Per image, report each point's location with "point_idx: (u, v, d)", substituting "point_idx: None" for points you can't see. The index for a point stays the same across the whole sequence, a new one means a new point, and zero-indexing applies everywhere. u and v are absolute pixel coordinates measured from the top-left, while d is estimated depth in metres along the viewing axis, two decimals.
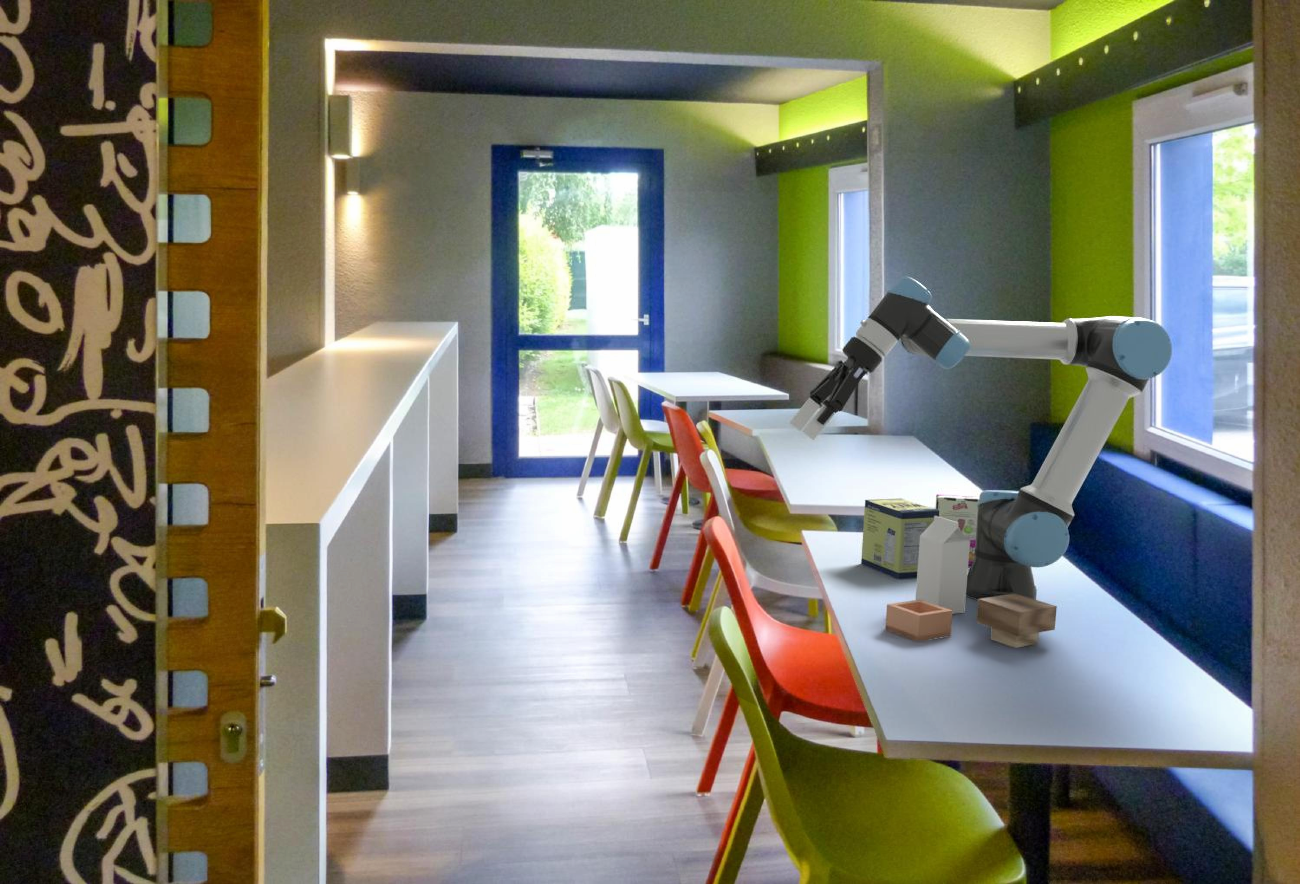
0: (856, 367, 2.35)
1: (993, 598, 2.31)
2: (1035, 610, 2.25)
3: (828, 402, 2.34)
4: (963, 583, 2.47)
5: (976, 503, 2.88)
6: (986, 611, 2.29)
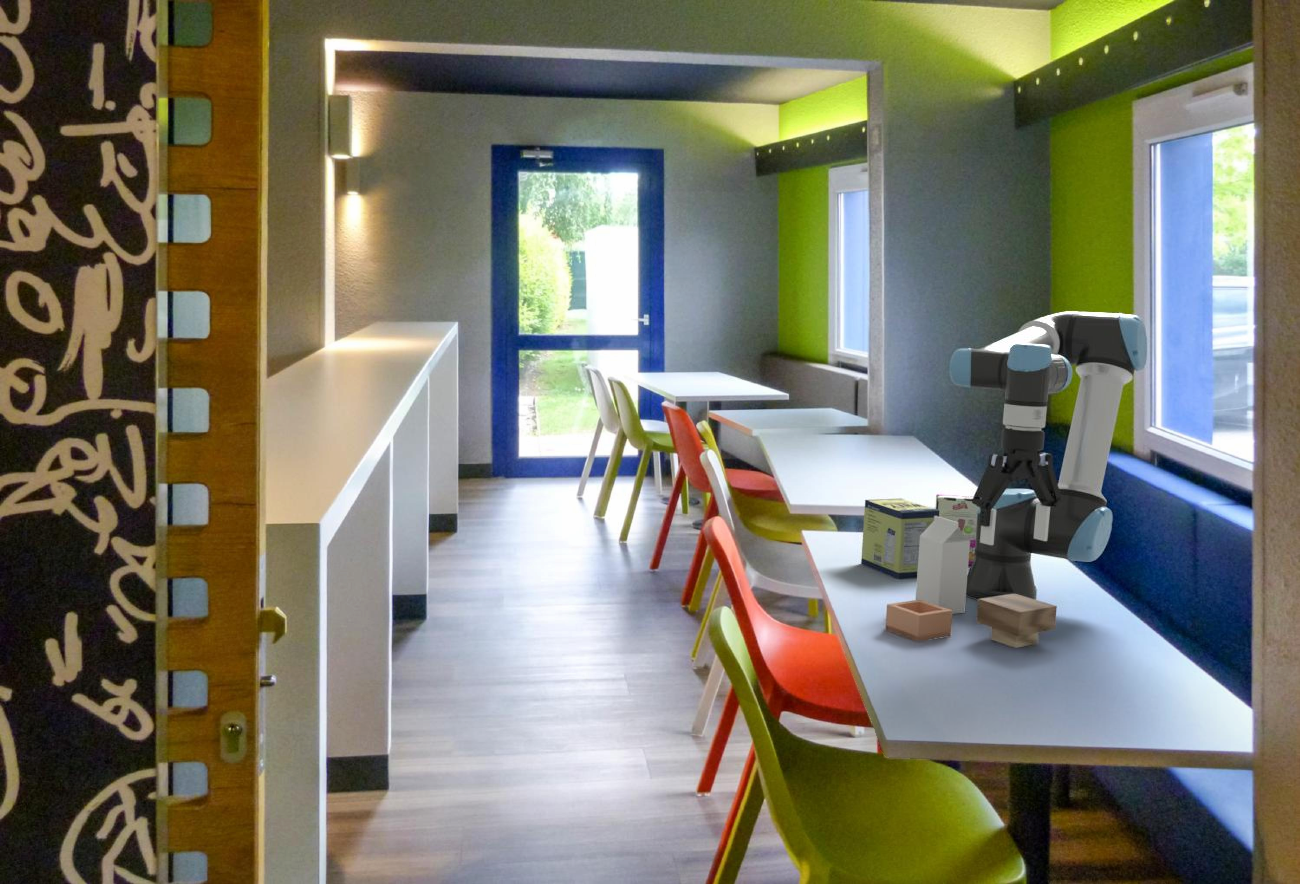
0: None
1: (993, 598, 2.31)
2: (1035, 610, 2.25)
3: None
4: (963, 583, 2.47)
5: None
6: (986, 611, 2.29)
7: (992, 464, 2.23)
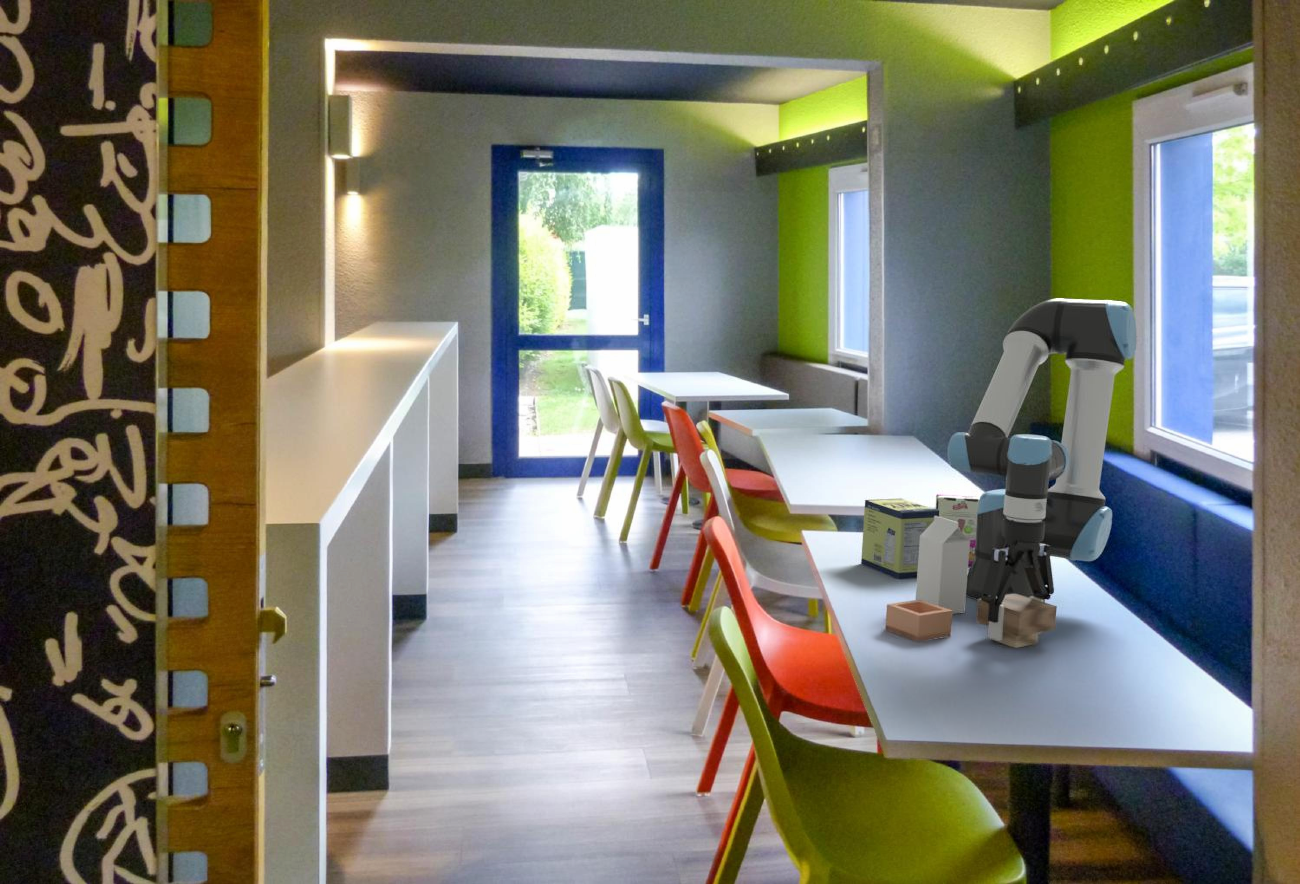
0: None
1: None
2: (1035, 610, 2.25)
3: None
4: (963, 583, 2.47)
5: (976, 503, 2.88)
6: (986, 611, 2.29)
7: (995, 559, 2.25)
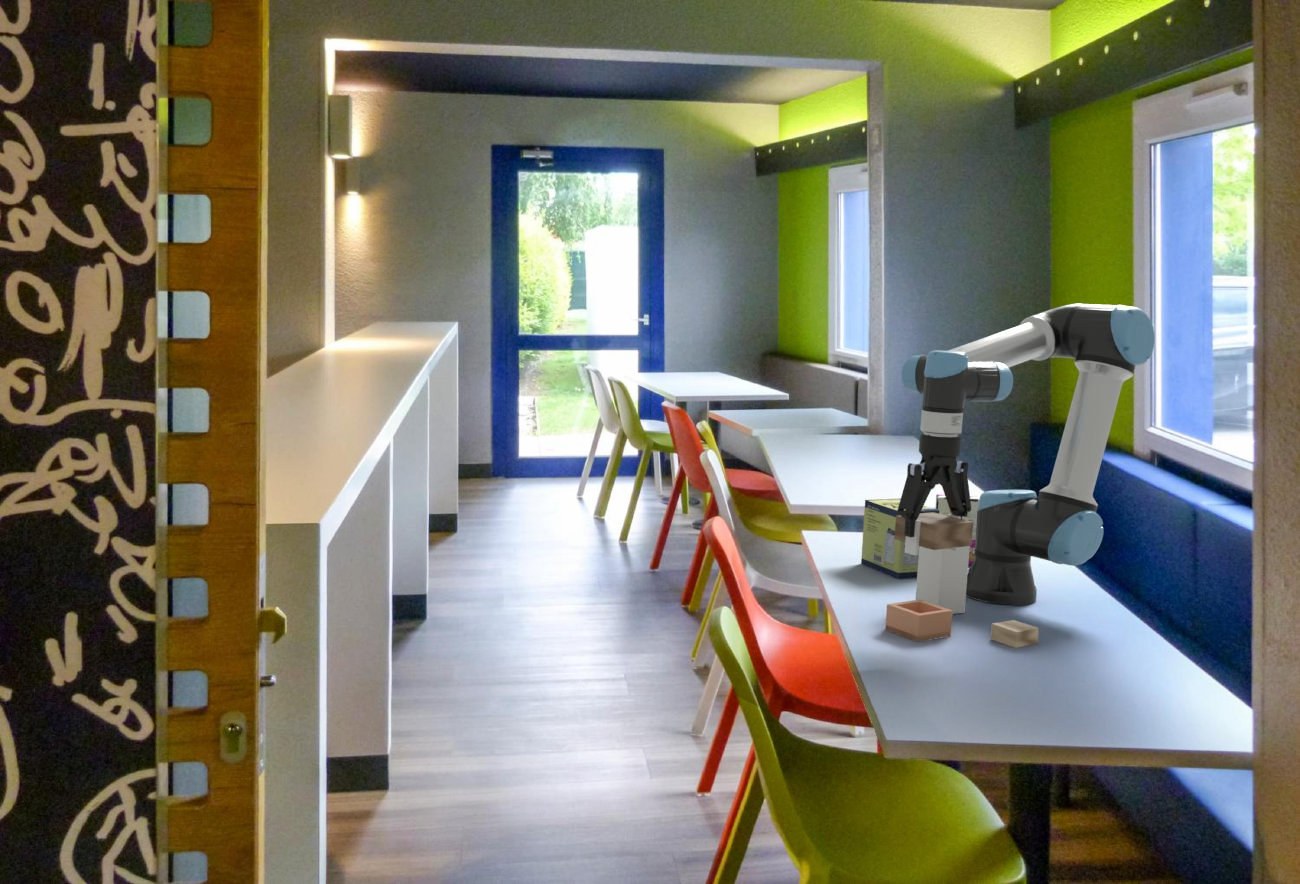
0: None
1: None
2: (951, 525, 2.25)
3: None
4: (963, 583, 2.47)
5: (976, 503, 2.88)
6: (903, 527, 2.29)
7: (911, 474, 2.25)
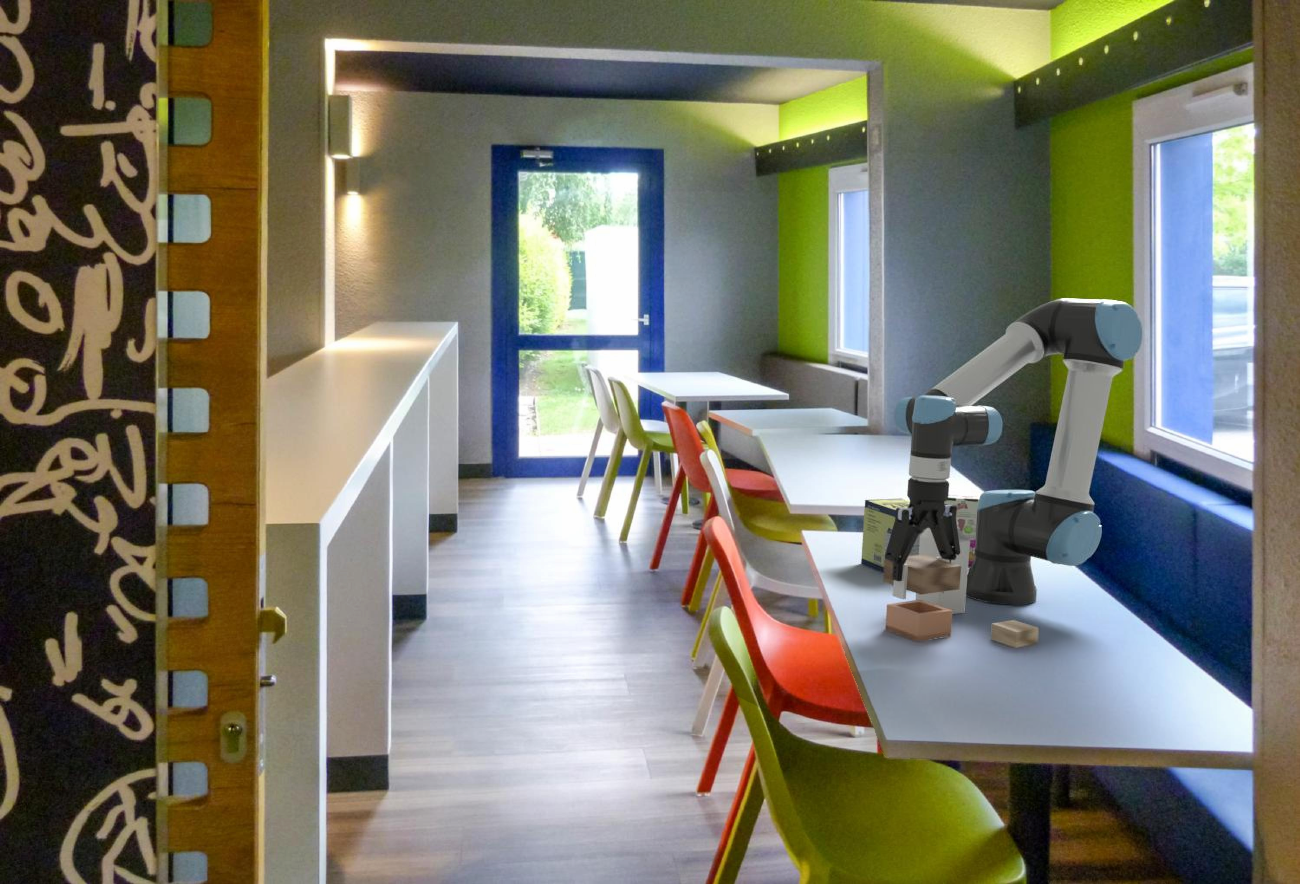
0: None
1: None
2: (938, 569, 2.27)
3: None
4: (963, 583, 2.47)
5: (976, 503, 2.88)
6: (892, 571, 2.31)
7: (899, 519, 2.27)
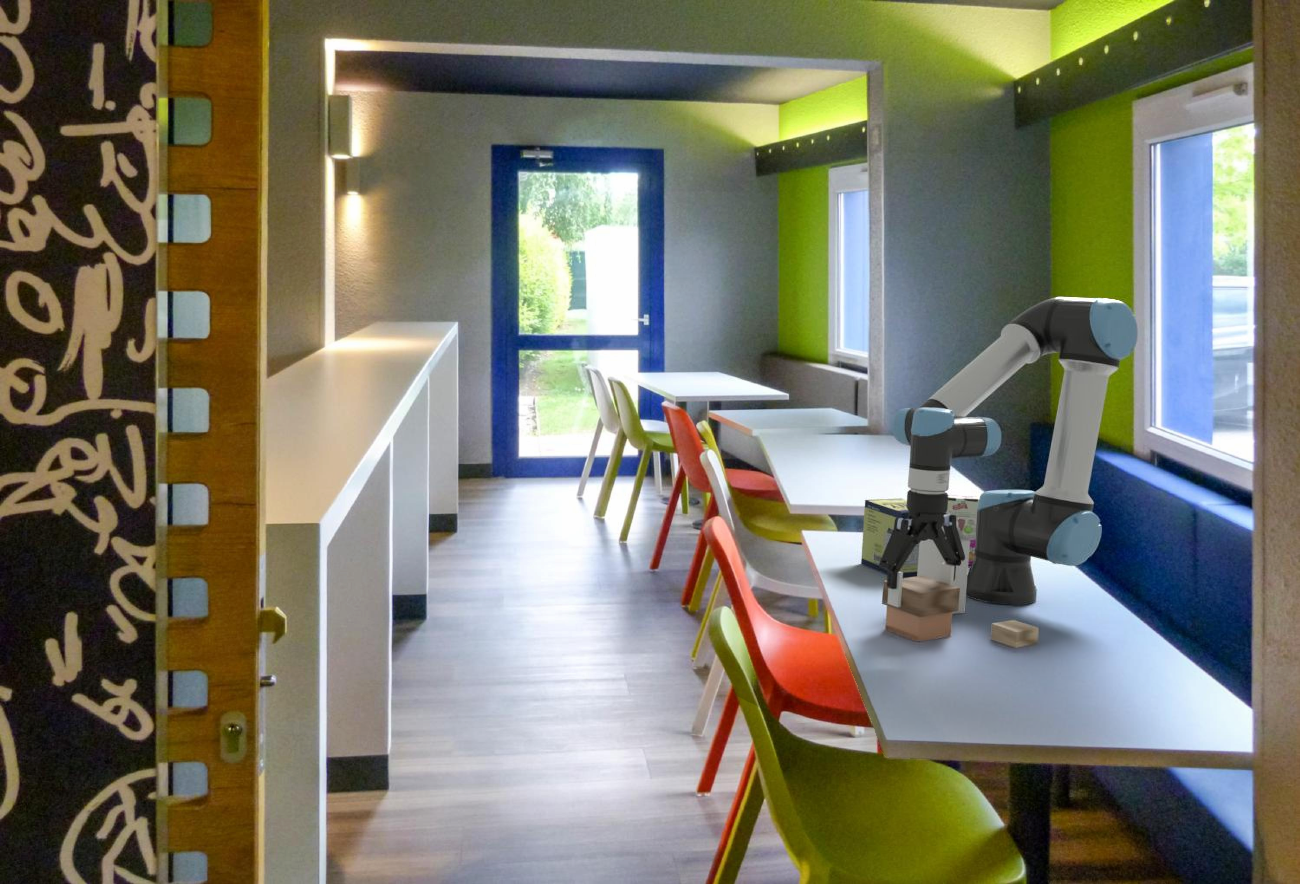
0: None
1: None
2: (937, 591, 2.27)
3: None
4: (963, 583, 2.47)
5: (976, 503, 2.88)
6: None
7: (898, 528, 2.27)
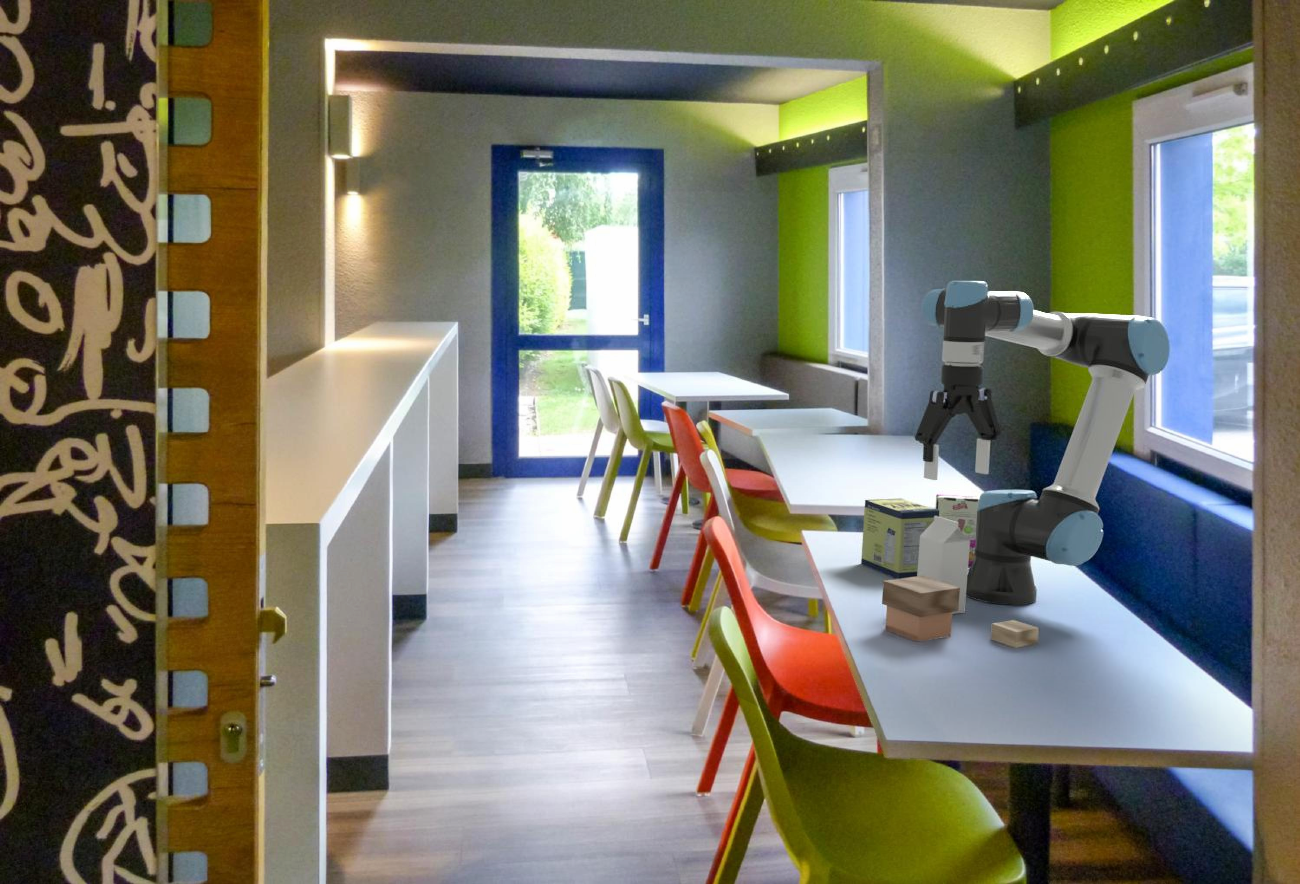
0: None
1: (898, 580, 2.34)
2: (937, 591, 2.27)
3: None
4: (963, 583, 2.47)
5: (976, 503, 2.88)
6: (890, 593, 2.32)
7: (933, 400, 2.27)
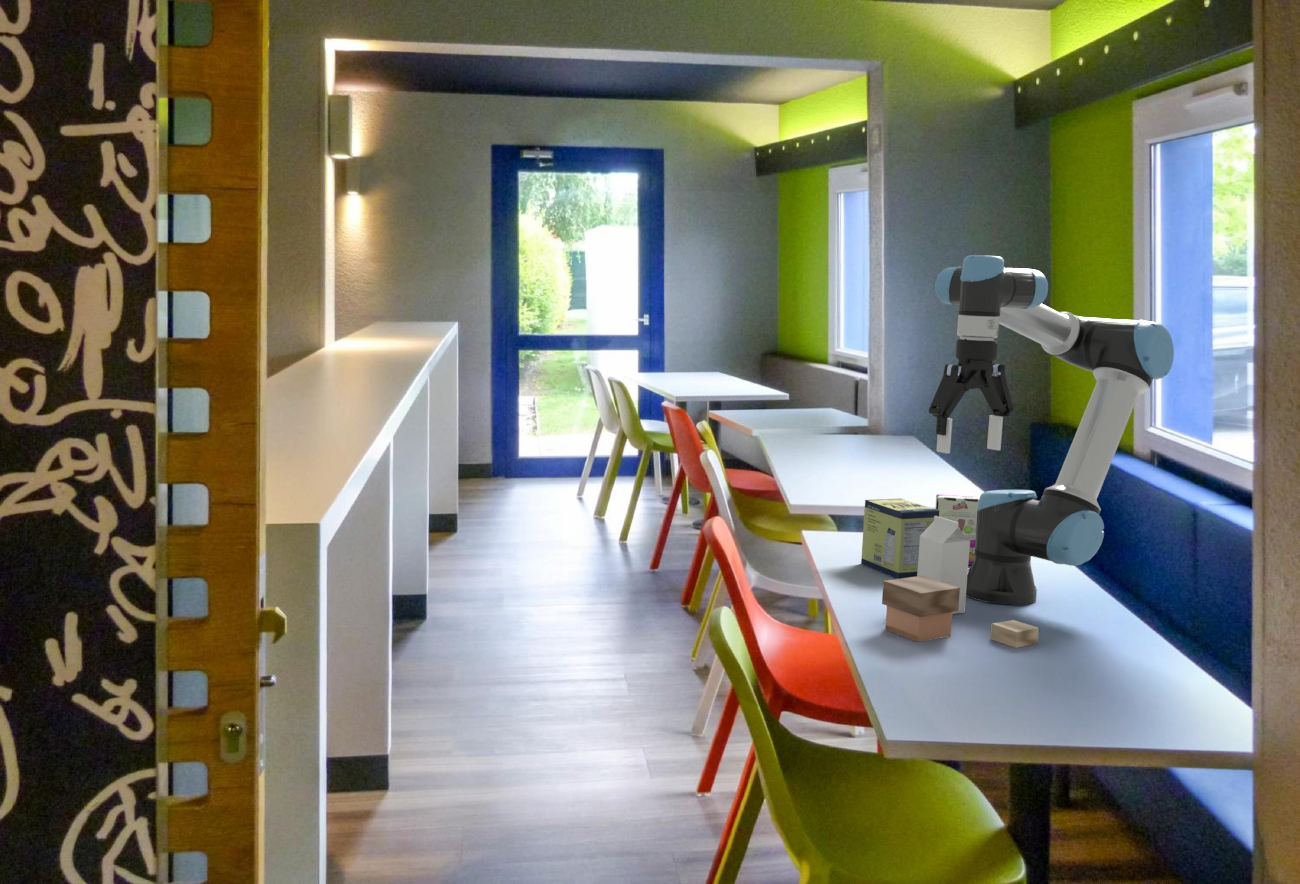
0: None
1: (898, 580, 2.34)
2: (937, 591, 2.27)
3: None
4: (963, 583, 2.47)
5: (976, 503, 2.88)
6: (890, 593, 2.32)
7: (948, 374, 2.27)
